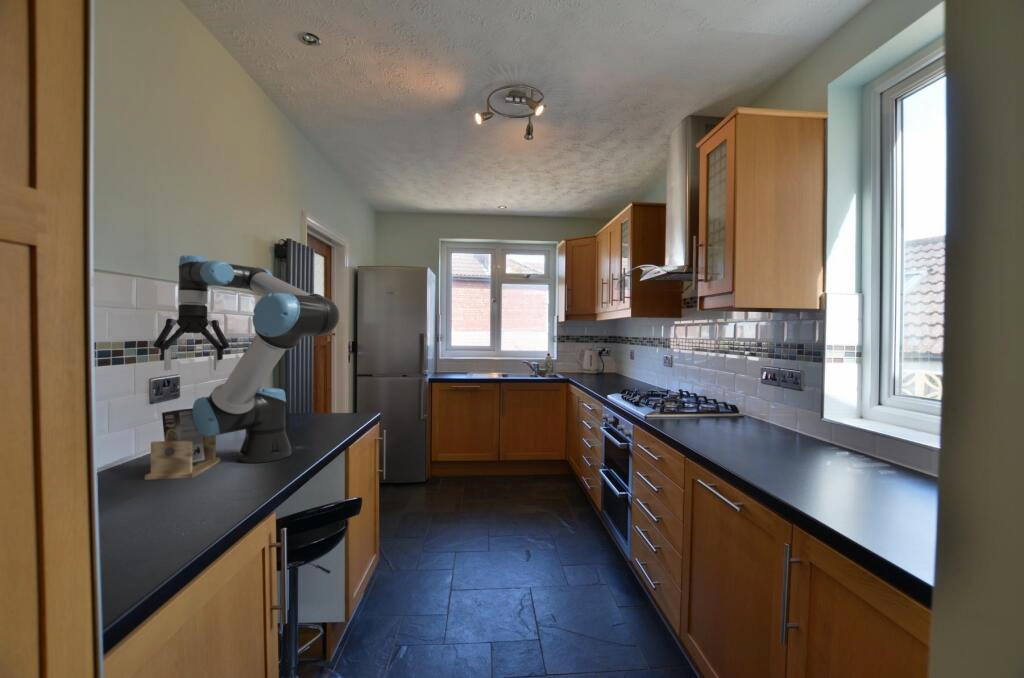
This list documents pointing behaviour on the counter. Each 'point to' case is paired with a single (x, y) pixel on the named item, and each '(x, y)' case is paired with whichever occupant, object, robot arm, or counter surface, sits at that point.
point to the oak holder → (180, 459)
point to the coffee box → (183, 431)
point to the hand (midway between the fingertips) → (192, 370)
